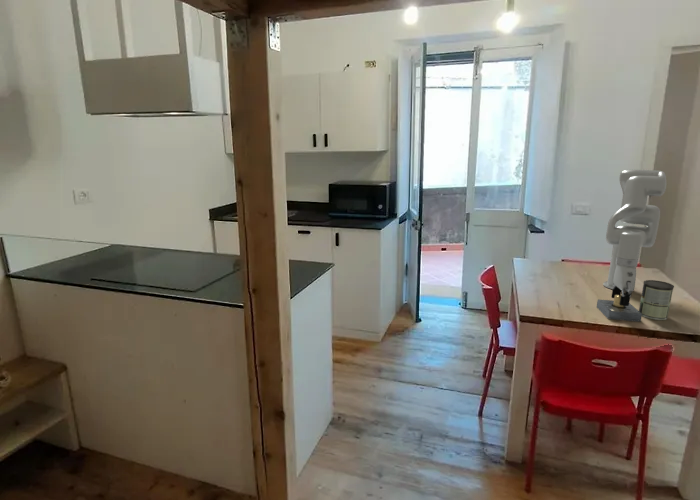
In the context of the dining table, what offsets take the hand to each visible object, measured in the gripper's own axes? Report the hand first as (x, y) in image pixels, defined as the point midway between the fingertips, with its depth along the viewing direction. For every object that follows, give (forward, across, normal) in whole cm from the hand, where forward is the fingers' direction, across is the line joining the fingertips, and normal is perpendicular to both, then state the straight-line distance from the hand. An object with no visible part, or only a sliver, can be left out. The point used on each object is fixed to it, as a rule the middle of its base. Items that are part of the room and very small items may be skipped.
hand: (619, 301), depth 179 cm
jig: (+6, 0, 0) cm, 6 cm away
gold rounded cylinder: (+6, 0, 0) cm, 6 cm away
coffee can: (+6, +2, -14) cm, 15 cm away
